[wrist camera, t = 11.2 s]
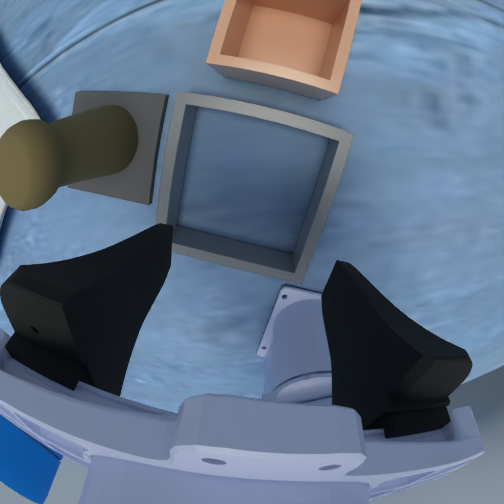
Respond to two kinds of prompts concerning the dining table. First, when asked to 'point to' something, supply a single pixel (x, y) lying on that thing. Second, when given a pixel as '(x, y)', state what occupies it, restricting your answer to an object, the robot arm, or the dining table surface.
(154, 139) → the dark grey rubber mat
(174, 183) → the grey rectangular frame
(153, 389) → the dining table surface
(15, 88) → the square plate
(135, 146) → the cork
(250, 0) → the terracotta pot
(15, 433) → the thermos
